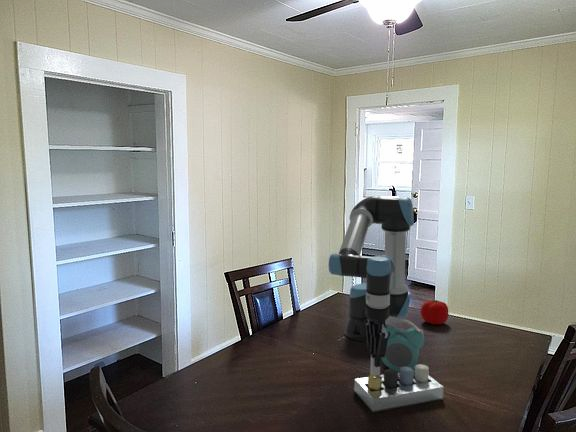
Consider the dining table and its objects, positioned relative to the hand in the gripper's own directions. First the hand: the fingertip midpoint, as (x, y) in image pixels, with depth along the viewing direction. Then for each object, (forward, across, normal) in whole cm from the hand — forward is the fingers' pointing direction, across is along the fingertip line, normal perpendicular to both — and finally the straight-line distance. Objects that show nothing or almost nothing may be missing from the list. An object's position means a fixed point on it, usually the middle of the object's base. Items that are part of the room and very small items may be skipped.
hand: (375, 374), depth 140 cm
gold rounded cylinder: (+7, 0, 0) cm, 7 cm away
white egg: (+6, 0, +18) cm, 19 cm away
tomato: (+10, -53, +62) cm, 82 cm away
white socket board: (+9, 0, +9) cm, 12 cm away
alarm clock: (+9, -17, +20) cm, 28 cm away
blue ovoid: (+6, 0, +12) cm, 13 cm away
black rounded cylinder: (+6, 0, +6) cm, 8 cm away
